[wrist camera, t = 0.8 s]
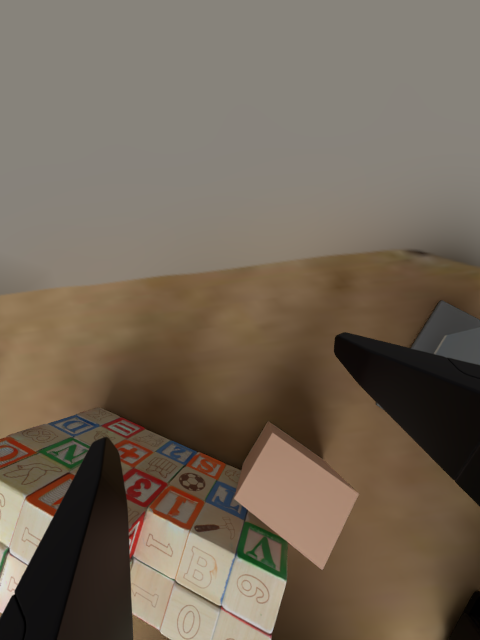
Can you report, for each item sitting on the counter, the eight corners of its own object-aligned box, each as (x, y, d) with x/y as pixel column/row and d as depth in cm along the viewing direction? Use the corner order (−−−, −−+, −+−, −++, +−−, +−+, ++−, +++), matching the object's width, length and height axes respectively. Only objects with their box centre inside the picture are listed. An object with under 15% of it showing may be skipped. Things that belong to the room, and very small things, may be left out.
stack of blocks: (290, 488, 23) (289, 647, 11) (270, 557, 23) (247, 797, 11) (97, 406, 27) (-53, 452, 15) (79, 462, 27) (-88, 554, 15)
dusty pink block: (268, 420, 25) (272, 432, 16) (323, 459, 24) (359, 493, 15) (243, 463, 24) (233, 498, 16) (298, 505, 23) (322, 570, 14)
